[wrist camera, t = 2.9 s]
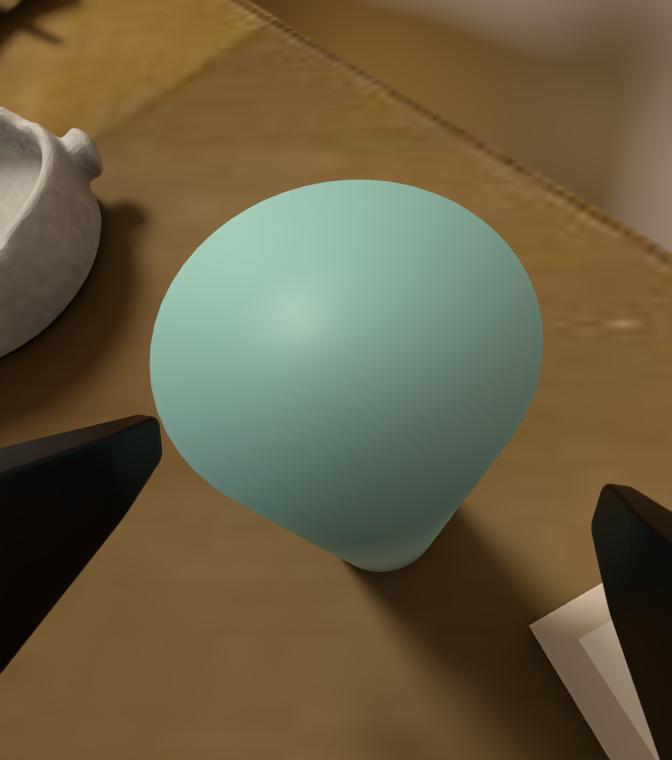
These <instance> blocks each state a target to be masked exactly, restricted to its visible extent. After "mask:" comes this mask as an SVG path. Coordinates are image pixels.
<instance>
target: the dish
mask: <svg viewBox="0 0 672 760" xmlns="http://www.w3.org/2000/svg"><path fill="white" fill-rule="evenodd" d="M102 171H103V165H102V161H101V157H100V152H99V150H98V148H97V146H96V144H95V143H94V141H93V140H92V139H91V138H90V137H89V136H88V135H87V134H86V133H84V132H83V131H81V130H79V129H76V128H72V129H71V130H70V131H69V132H68V133H67V134H66V135H65V136H64V137H62V138H58V137H56V136H55V135H53V134H52V133H51V132H49V131H48V130H47V129H46V128H44V127H43V126H42V125H40V124H37V123H32V122H30V121H28V120H26V119H24V118H22V117H20V116H18V115H17V114H15V113H13V112H11V111H9V110H7V109H6V108H3V107H1V106H0V357H1V356H3V355H5V354H7V353H9V352H11V351H13V350H15V349H16V348H18V347H20V346H21V345H23V344H25V343H26V342H27V341H29V340H30V339H32V338H33V337H35V336H36V335H37V334H39V333H40V332H41V331H42V330H43V329H45V328H46V327H47V326H48V325H49V324H50V323H51V322H52V321H53V320H54V319H55V318H56V317H57V316H58V315H59V314H60V313H61V312H62V311H63V310H64V309H65V307H66V306H67V305H68V304H69V302H70V301H71V300H72V299H73V297H74V296H75V295H76V294H77V292H78V291H79V289H80V287H81V286H82V284H83V282H84V281H85V279H86V277H87V276H88V274H89V272H90V269H91V267H92V265H93V263H94V260H95V256H96V253H97V250H98V246H99V241H100V232H101V214H100V208H99V205H98V202H97V200H96V198H95V196H94V194H93V192H92V191H91V189H90V182H91V181H92V180H93V179H95V178H97V177H99V176H100V175H101V174H102Z"/></svg>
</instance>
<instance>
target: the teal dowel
mask: <svg viewBox="0 0 672 760" xmlns="http://www.w3.org/2000/svg"><path fill="white" fill-rule="evenodd" d="M542 355H543V328H542V318H541V314H540V309H539V305H538V300H537V297H536V294H535V292H534V289H533V287H532V284H531V281H530V279H529V277H528V275H527V273H526V271H525V270H524V268H523V266H522V264H521V263H520V261H519V259H518V257H517V256H516V255H515V254H514V252H513V251H512V250H511V248H510V247H509V246H508V245H507V243H506V242H505V241H504V240H503V239H502V238H501V237H500V236H499V235H498V234H497V233H496V232H495V231H494V230H493V229H492V228H491V227H490V226H489V225H488V224H486V223H485V222H484V221H482V220H481V219H480V218H478V217H477V216H476V215H474V214H473V213H472V212H470V211H468V210H467V209H465V208H463V207H462V206H460V205H458V204H456V203H455V202H453V201H451V200H448V199H446V198H444V197H442V196H439V195H437V194H435V193H432V192H429V191H426V190H423V189H419V188H416V187H413V186H408V185H403V184H398V183H393V182H386V181H375V180H342V181H332V182H324V183H319V184H314V185H309V186H304V187H301V188H297V189H294V190H291V191H287V192H284V193H281V194H279V195H277V196H274V197H272V198H269V199H267V200H264V201H262V202H260V203H258V204H256V205H255V206H253V207H251V208H249V209H247V210H245V211H243V212H242V213H240V214H239V215H237V216H236V217H234V218H233V219H231V220H230V221H228V222H227V223H225V224H224V225H223V226H222V227H220V228H219V229H218V230H217V231H215V232H214V233H213V234H212V235H210V236H209V237H208V238H207V239H206V240H205V241H204V242H203V243H202V244H201V245H200V246H199V247H198V248H197V249H196V250H195V252H194V253H193V254H192V255H191V257H190V258H189V259H188V260H187V261H186V263H185V264H184V265H183V266H182V268H181V269H180V271H179V273H178V274H177V276H176V277H175V279H174V280H173V282H172V284H171V285H170V287H169V289H168V292H167V294H166V296H165V298H164V300H163V302H162V304H161V307H160V310H159V313H158V316H157V319H156V322H155V326H154V331H153V336H152V342H151V351H150V375H151V385H152V392H153V396H154V400H155V404H156V407H157V411H158V414H159V416H160V418H161V421H162V423H163V425H164V428H165V430H166V432H167V434H168V436H169V437H170V439H171V441H172V442H173V444H174V445H175V447H176V449H177V450H178V452H179V453H180V454H181V456H182V457H183V458H184V459H185V460H186V461H187V463H188V464H189V465H190V466H191V467H192V468H193V469H194V471H195V472H196V473H197V474H199V475H200V476H201V477H202V478H203V479H205V480H206V481H207V482H208V483H209V484H210V485H212V486H213V487H214V488H215V489H217V490H218V491H220V492H221V493H223V494H225V495H226V496H228V497H230V498H231V499H233V500H234V501H236V502H238V503H239V504H241V505H243V506H245V507H247V508H249V509H250V510H252V511H254V512H256V513H258V514H260V515H262V516H263V517H265V518H267V519H269V520H271V521H273V522H274V523H276V524H278V525H280V526H282V527H284V528H286V529H287V530H289V531H291V532H293V533H295V534H297V535H298V536H300V537H302V538H304V539H306V540H308V541H309V542H311V543H313V544H315V545H317V546H319V547H321V548H322V549H324V550H326V551H328V552H330V553H332V554H333V555H335V556H337V557H339V558H341V559H343V560H345V561H346V562H348V563H350V564H352V565H354V566H356V567H358V568H361V569H364V570H368V571H374V572H388V571H394V570H397V569H401V568H403V567H405V566H407V565H409V564H411V563H413V562H414V561H416V560H417V559H418V558H419V557H420V556H421V555H422V554H423V553H424V552H425V551H426V550H427V549H428V547H429V546H430V545H431V543H432V542H433V541H434V539H435V538H436V537H437V535H438V534H439V533H440V531H441V530H442V529H443V528H444V526H445V525H446V524H447V522H448V521H449V520H450V518H451V517H452V516H453V514H454V513H455V512H456V510H457V509H458V508H459V506H460V505H461V504H462V503H463V501H464V500H465V499H466V497H467V496H468V495H469V493H470V492H471V491H472V489H473V488H474V487H475V485H476V484H477V483H478V481H479V480H480V479H481V477H482V476H483V475H484V474H485V472H486V471H487V470H488V468H489V467H490V466H491V464H492V463H493V462H494V460H495V459H496V458H497V456H498V455H499V454H500V452H501V451H502V450H503V449H504V447H505V446H506V445H507V443H508V442H509V441H510V439H511V437H512V436H513V434H514V433H515V431H516V430H517V428H518V426H519V425H520V423H521V422H522V420H523V419H524V417H525V414H526V412H527V410H528V407H529V405H530V403H531V401H532V398H533V396H534V394H535V390H536V386H537V383H538V379H539V375H540V371H541V365H542Z"/></svg>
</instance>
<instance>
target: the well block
mask: <svg viewBox="0 0 672 760" xmlns="http://www.w3.org/2000/svg"><path fill="white" fill-rule="evenodd" d="M529 627H530V629H531V631H532V632H533V634H534V636H535V637H536V639H537V640H538V642H539V644H540V645H541V647H542V649H543V650H544V652H545V654H546V655H547V657H548V659H549V660H550V662H551V664H552V665H553V667H554V668H555V670H556V672H557V673H558V675H559V677H560V678H561V680H562V682H563V683H564V685H565V687H566V688H567V690H568V692H569V693H570V695H571V696H572V698H573V700H574V701H575V703H576V705H577V706H578V708H579V710H580V711H581V713H582V715H583V716H584V718H585V720H586V721H587V723H588V724H589V726H590V728H591V729H592V731H593V733H594V734H595V736H596V738H597V739H598V741H599V743H600V744H601V746H602V748H603V749H604V751H605V753H606V754H607V756H608V757H609V759H610V760H660V759H659V757H658V754H657V751H656V748H655V745H654V742H653V739H652V736H651V733H650V730H649V727H648V724H647V722H646V719H645V716H644V713H643V710H642V707H641V704H640V701H639V698H638V695H637V692H636V689H635V687H634V684H633V681H632V678H631V675H630V672H629V669H628V666H627V663H626V660H625V657H624V654H623V652H622V649H621V646H620V643H619V640H618V637H617V634H616V631H615V628H614V625H613V622H612V619H611V616H610V613H609V609H608V605H607V601H606V597H605V593H604V588H603V583H601V584H599V585H598V586H596V587H594V588H593V589H591V590H589V591H587V592H586V593H584V594H582V595H580V596H579V597H577V598H575V599H574V600H572V601H570V602H568V603H567V604H565V605H563V606H562V607H560V608H558V609H556V610H555V611H553V612H551V613H549V614H548V615H546V616H544V617H543V618H541V619H539V620H537V621H536V622H534V623H532V624H531V625H529Z"/></svg>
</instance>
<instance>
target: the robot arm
mask: <svg viewBox="0 0 672 760" xmlns="http://www.w3.org/2000/svg"><path fill="white" fill-rule="evenodd" d="M161 456H162V443H161V435H160V426H159V422H158V420H157V419H156V418H155V417H152V416H145V415H134V416H130V417H126V418H122V419H118V420H114V421H110V422H106V423H102V424H97V425H93V426H89V427H85V428H81V429H77V430H73V431H69V432H65V433H60V434H56V435H52V436H48V437H44V438H40V439H36V440H32V441H28V442H23V443H19V444H15V445H11V446H7V447H3V448H0V674H1V673H2V671H3V670H4V669H5V668H6V666H7V665H8V664H9V663H10V661H11V660H12V659H13V658H14V656H15V655H16V654H17V652H18V651H19V650H20V649H21V647H22V646H23V645H24V644H25V642H26V641H27V640H28V639H29V637H30V636H31V635H32V633H33V632H34V631H35V630H36V628H37V627H38V626H39V625H40V623H41V622H42V621H43V620H44V618H45V617H46V616H47V614H48V613H49V612H50V611H51V609H52V608H53V607H54V606H55V604H56V603H57V602H58V601H59V599H60V598H61V597H62V595H63V594H64V593H65V592H66V590H67V589H68V588H69V587H70V585H71V584H72V583H73V582H74V580H75V579H76V578H77V576H78V575H79V574H80V573H81V571H82V570H83V569H84V568H85V566H86V565H87V564H88V562H89V561H90V560H91V559H92V557H93V556H94V555H95V554H96V552H97V551H98V550H99V549H100V547H101V546H102V545H103V543H104V542H105V541H106V540H107V538H108V537H109V536H110V535H111V533H112V532H113V531H114V530H115V528H116V527H117V526H118V524H119V523H120V522H121V520H122V519H123V518H124V516H125V515H126V513H127V512H128V510H129V509H130V507H131V506H132V504H133V503H134V501H135V500H136V498H137V497H138V495H139V493H140V492H141V490H142V489H143V487H144V486H145V484H146V482H147V481H148V479H149V478H150V476H151V475H152V473H153V471H154V470H155V468H156V467H157V465H158V464H159V462H160V459H161ZM591 530H592V537H593V541H594V546H595V551H596V555H597V560H598V565H599V569H600V574H601V579H602V583H603V588H604V593H605V597H606V601H607V605H608V609H609V613H610V616H611V619H612V622H613V625H614V628H615V631H616V634H617V637H618V640H619V643H620V646H621V649H622V652H623V654H624V657H625V660H626V663H627V666H628V669H629V672H630V675H631V678H632V681H633V684H634V687H635V689H636V692H637V695H638V698H639V701H640V704H641V707H642V710H643V713H644V716H645V719H646V722H647V724H648V727H649V730H650V733H651V736H652V739H653V742H654V745H655V748H656V751H657V754H658V757H659V759H660V760H672V512H671V511H670V510H668V509H666V508H665V507H663V506H661V505H660V504H658V503H657V502H655V501H653V500H652V499H650V498H648V497H647V496H645V495H643V494H642V493H640V492H639V491H637V490H635V489H634V488H632V487H629V486H623V485H616V484H606V485H605V486H604V487H603V488H602V490H601V493H600V496H599V499H598V503H597V506H596V509H595V513H594V516H593V519H592V525H591Z"/></svg>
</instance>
